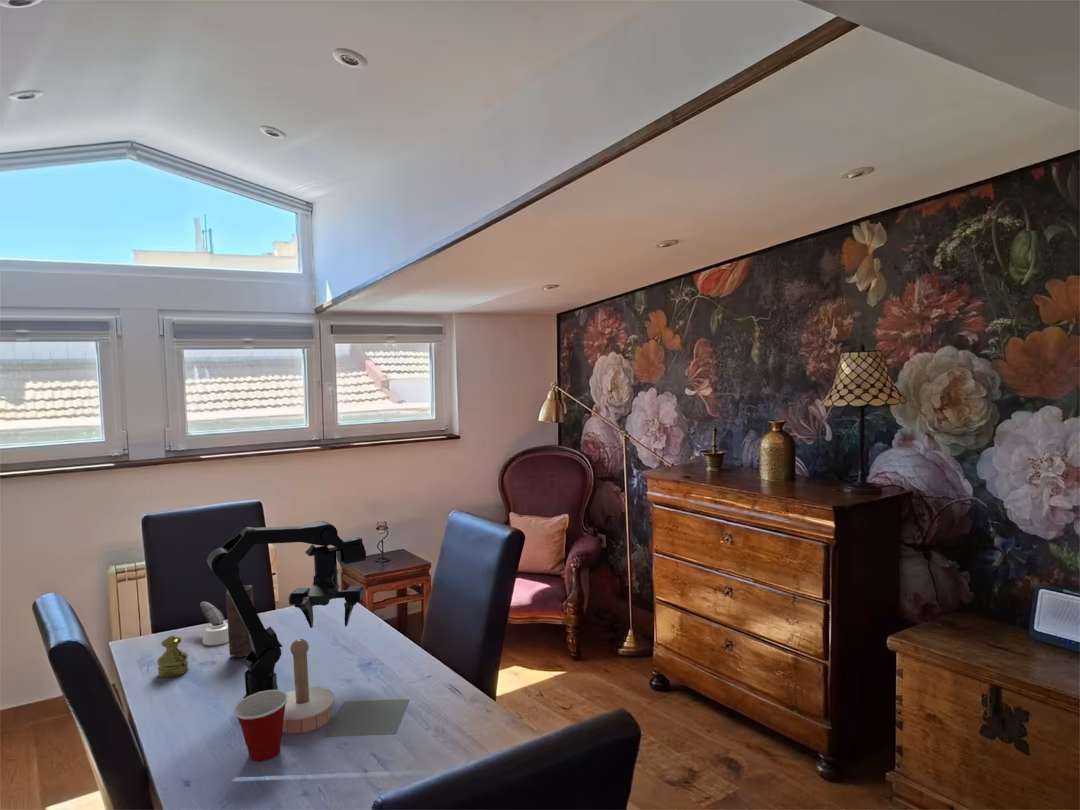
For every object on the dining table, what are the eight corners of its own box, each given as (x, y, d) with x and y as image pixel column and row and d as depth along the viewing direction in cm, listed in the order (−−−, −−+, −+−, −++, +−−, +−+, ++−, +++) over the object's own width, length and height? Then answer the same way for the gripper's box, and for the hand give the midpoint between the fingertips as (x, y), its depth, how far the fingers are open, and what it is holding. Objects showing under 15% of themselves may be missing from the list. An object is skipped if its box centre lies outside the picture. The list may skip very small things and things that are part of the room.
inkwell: (210, 648, 207) (208, 615, 206) (184, 635, 218) (182, 603, 218) (240, 638, 214) (238, 606, 213) (213, 625, 225) (211, 595, 225)
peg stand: (257, 716, 156) (252, 649, 155) (296, 688, 169) (292, 626, 168) (310, 723, 152) (306, 654, 151) (346, 694, 165) (342, 630, 164)
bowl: (268, 736, 155) (267, 719, 155) (287, 710, 167) (286, 693, 166) (321, 734, 155) (320, 717, 155) (337, 708, 167) (336, 691, 167)
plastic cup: (226, 759, 146) (223, 704, 145) (274, 737, 154) (271, 684, 154) (252, 777, 139) (248, 719, 138) (301, 753, 147) (297, 698, 147)
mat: (323, 739, 153) (323, 736, 153) (343, 703, 169) (343, 701, 169) (396, 736, 153) (396, 733, 153) (409, 701, 169) (409, 699, 169)
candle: (246, 661, 196) (242, 592, 195) (223, 660, 198) (219, 591, 197) (262, 650, 204) (258, 583, 203) (240, 649, 205) (236, 582, 204)
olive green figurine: (168, 667, 194) (165, 632, 194) (194, 666, 194) (191, 631, 194) (152, 678, 187) (149, 642, 186) (179, 678, 187) (177, 642, 186)
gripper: (279, 579, 176) (283, 639, 177) (353, 576, 176) (356, 637, 177) (294, 567, 187) (298, 623, 188) (363, 564, 187) (366, 621, 188)
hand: (329, 626), depth 185 cm, fingers open, 9 cm apart
